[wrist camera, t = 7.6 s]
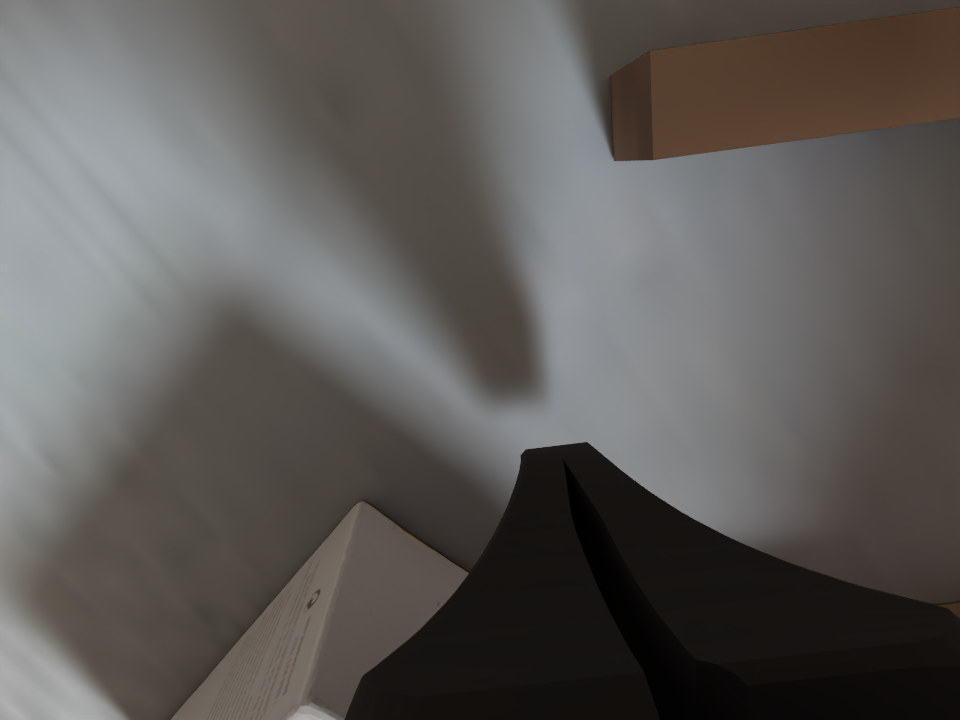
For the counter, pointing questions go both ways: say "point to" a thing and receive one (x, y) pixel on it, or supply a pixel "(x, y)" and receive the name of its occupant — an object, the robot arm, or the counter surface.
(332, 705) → the small box
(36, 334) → the counter surface
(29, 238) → the counter surface
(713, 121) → the open wooden frame
